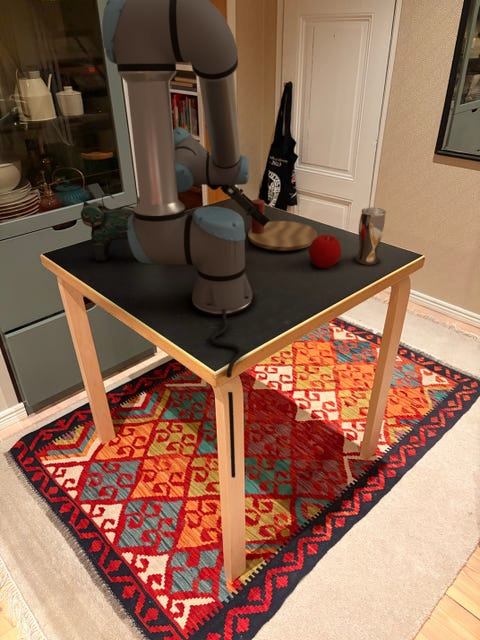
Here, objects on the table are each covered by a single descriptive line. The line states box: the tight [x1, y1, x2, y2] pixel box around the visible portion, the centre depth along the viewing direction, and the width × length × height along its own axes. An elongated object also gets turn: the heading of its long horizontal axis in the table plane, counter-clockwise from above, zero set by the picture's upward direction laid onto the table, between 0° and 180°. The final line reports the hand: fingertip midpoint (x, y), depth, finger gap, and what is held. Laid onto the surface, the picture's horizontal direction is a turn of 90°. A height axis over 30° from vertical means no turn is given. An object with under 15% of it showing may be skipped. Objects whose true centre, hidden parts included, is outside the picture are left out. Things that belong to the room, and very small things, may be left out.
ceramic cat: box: [80, 193, 135, 262], centre depth 135 cm, size 20×6×20 cm, turn 83°
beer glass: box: [355, 206, 387, 266], centre depth 133 cm, size 7×7×15 cm
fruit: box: [308, 231, 342, 269], centre depth 132 cm, size 9×9×10 cm
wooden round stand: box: [247, 199, 318, 251], centre depth 147 cm, size 22×22×11 cm
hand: (260, 215), depth 148 cm, fingers open, 13 cm apart
